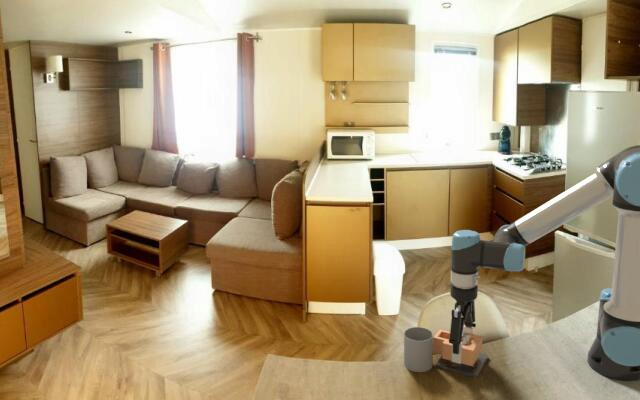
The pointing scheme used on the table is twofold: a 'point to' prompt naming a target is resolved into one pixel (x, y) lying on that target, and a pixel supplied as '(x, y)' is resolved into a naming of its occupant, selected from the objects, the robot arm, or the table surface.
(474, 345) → the orange bottle-shaped mold
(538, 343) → the table surface
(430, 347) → the cup
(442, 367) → the post base
